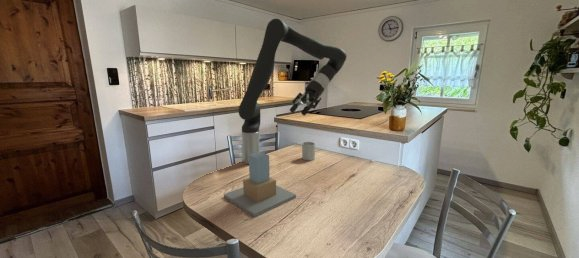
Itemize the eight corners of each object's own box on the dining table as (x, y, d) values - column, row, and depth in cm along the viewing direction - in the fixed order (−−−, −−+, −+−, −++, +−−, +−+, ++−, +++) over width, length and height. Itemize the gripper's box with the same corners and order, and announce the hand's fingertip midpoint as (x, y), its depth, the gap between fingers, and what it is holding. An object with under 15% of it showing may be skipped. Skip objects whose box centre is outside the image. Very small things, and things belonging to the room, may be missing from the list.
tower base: (224, 197, 99) (223, 179, 98) (264, 182, 113) (263, 166, 111) (254, 217, 85) (254, 197, 84) (296, 197, 99) (296, 180, 97)
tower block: (249, 179, 98) (248, 154, 96) (261, 175, 101) (260, 152, 99) (257, 184, 94) (256, 158, 92) (269, 180, 97) (269, 155, 95)
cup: (299, 159, 144) (299, 143, 142) (309, 154, 152) (309, 140, 150) (310, 161, 140) (310, 146, 138) (319, 156, 148) (320, 142, 146)
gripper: (303, 79, 117) (282, 105, 113) (324, 79, 106) (301, 109, 102) (312, 90, 121) (292, 116, 117) (332, 92, 110) (311, 120, 106)
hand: (296, 113), depth 110 cm, fingers open, 8 cm apart
